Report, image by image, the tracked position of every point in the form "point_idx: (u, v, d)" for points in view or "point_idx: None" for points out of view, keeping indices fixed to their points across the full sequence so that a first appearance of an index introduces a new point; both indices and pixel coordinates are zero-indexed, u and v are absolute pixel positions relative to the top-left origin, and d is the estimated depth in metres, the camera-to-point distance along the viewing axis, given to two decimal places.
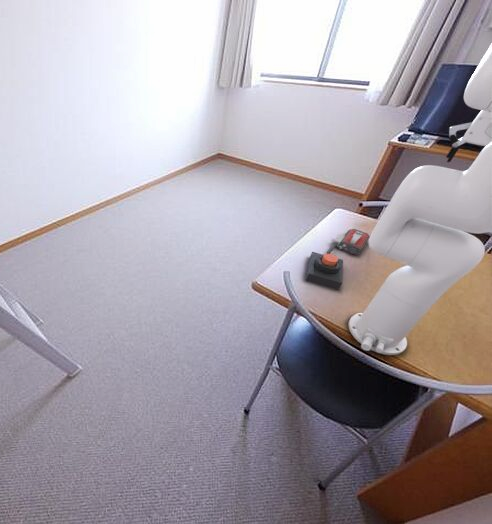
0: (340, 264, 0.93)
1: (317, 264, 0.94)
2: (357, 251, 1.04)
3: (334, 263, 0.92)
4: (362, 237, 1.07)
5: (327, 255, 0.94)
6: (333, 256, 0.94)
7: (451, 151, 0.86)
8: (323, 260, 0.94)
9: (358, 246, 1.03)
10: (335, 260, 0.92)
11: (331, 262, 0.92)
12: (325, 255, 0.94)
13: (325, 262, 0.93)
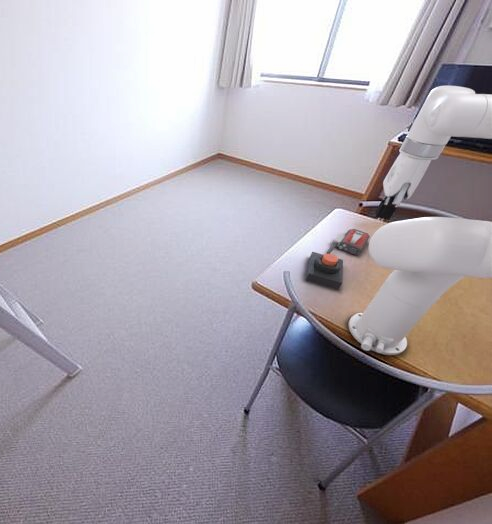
0: (340, 264, 0.93)
1: (317, 264, 0.94)
2: (357, 251, 1.03)
3: (334, 263, 0.92)
4: (362, 237, 1.07)
5: (327, 255, 0.94)
6: (333, 256, 0.94)
7: None
8: (323, 260, 0.94)
9: (358, 246, 1.03)
10: (335, 260, 0.92)
11: (331, 262, 0.92)
12: (325, 255, 0.94)
13: (325, 262, 0.93)
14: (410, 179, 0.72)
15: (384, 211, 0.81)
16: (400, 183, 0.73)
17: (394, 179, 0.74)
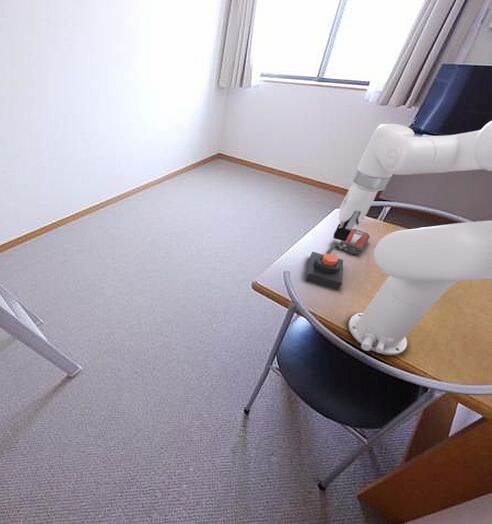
0: (340, 264, 0.93)
1: (317, 264, 0.94)
2: (357, 251, 1.03)
3: (334, 263, 0.92)
4: (362, 237, 1.07)
5: (327, 255, 0.94)
6: (333, 256, 0.94)
7: None
8: (323, 260, 0.94)
9: (358, 246, 1.03)
10: (335, 260, 0.92)
11: (331, 262, 0.92)
12: (325, 255, 0.94)
13: (325, 262, 0.93)
14: (359, 208, 0.78)
15: (340, 233, 0.87)
16: (351, 211, 0.79)
17: (346, 207, 0.80)
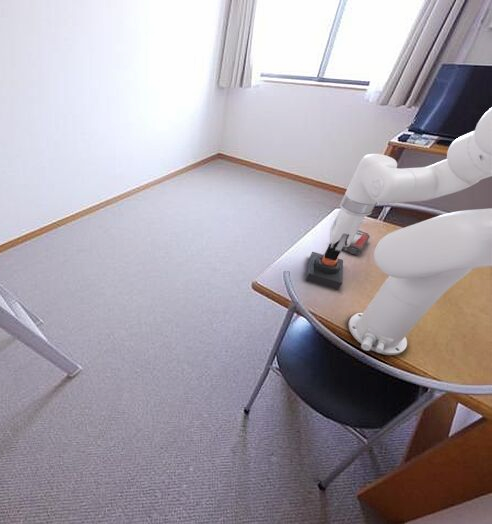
0: (340, 264, 0.93)
1: (317, 264, 0.94)
2: (357, 251, 1.03)
3: (334, 263, 0.92)
4: (362, 237, 1.07)
5: None
6: None
7: None
8: (323, 260, 0.94)
9: (358, 246, 1.03)
10: (335, 260, 0.92)
11: (330, 263, 0.92)
12: None
13: (325, 262, 0.93)
14: (348, 231, 0.82)
15: (331, 253, 0.91)
16: (340, 234, 0.83)
17: (335, 229, 0.84)
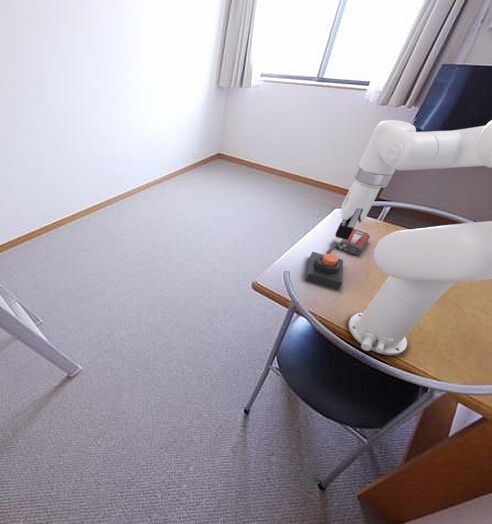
0: (340, 264, 0.93)
1: (317, 264, 0.94)
2: (357, 251, 1.03)
3: (334, 263, 0.92)
4: (362, 237, 1.07)
5: (327, 255, 0.94)
6: (333, 256, 0.94)
7: None
8: (323, 260, 0.94)
9: (358, 246, 1.03)
10: (335, 260, 0.92)
11: (331, 262, 0.92)
12: (325, 255, 0.94)
13: (325, 262, 0.93)
14: (362, 205, 0.77)
15: (342, 232, 0.86)
16: (353, 208, 0.78)
17: (348, 204, 0.79)
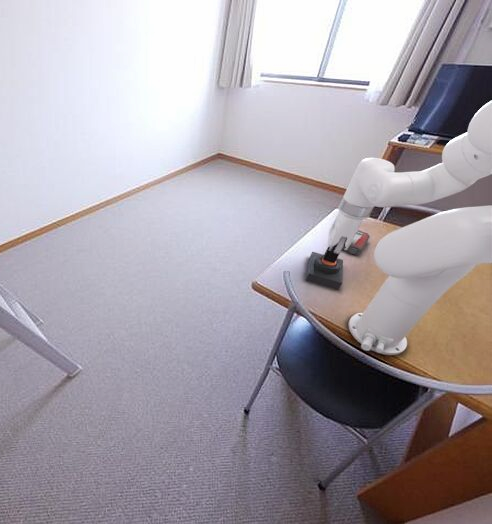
0: (340, 264, 0.93)
1: (317, 264, 0.94)
2: (357, 251, 1.03)
3: None
4: (362, 237, 1.07)
5: None
6: None
7: None
8: None
9: (358, 246, 1.03)
10: (333, 263, 0.93)
11: (329, 265, 0.93)
12: None
13: None
14: (346, 234, 0.83)
15: (329, 256, 0.92)
16: (338, 236, 0.84)
17: (334, 232, 0.85)
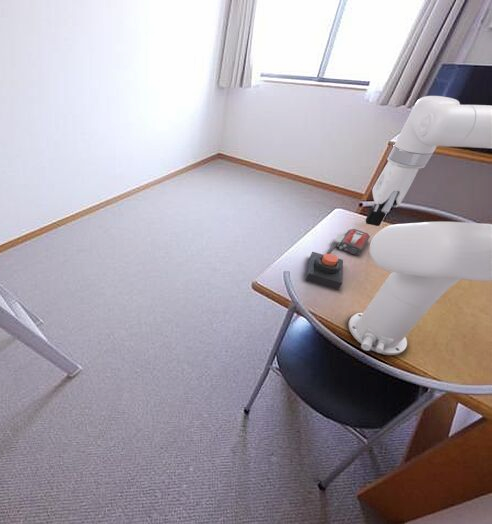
0: (340, 264, 0.93)
1: (317, 264, 0.94)
2: (357, 251, 1.03)
3: (334, 263, 0.92)
4: (362, 237, 1.07)
5: (327, 255, 0.94)
6: (333, 256, 0.94)
7: None
8: (323, 260, 0.94)
9: (358, 246, 1.03)
10: (335, 260, 0.92)
11: (331, 262, 0.92)
12: (325, 255, 0.94)
13: (325, 262, 0.93)
14: (399, 187, 0.73)
15: (374, 218, 0.82)
16: (389, 191, 0.74)
17: (383, 187, 0.75)
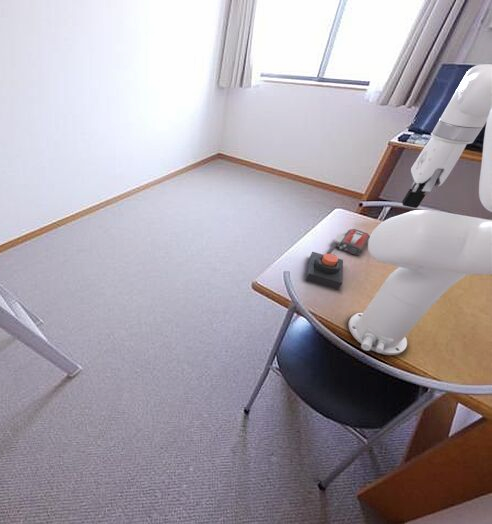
0: (340, 264, 0.93)
1: (317, 264, 0.94)
2: (357, 251, 1.03)
3: (334, 263, 0.92)
4: (362, 237, 1.07)
5: (327, 255, 0.94)
6: (333, 256, 0.94)
7: None
8: (323, 260, 0.94)
9: (358, 246, 1.03)
10: (335, 260, 0.92)
11: (331, 262, 0.92)
12: (325, 255, 0.94)
13: (325, 262, 0.93)
14: (443, 165, 0.69)
15: (412, 199, 0.78)
16: (432, 169, 0.70)
17: (425, 165, 0.71)
